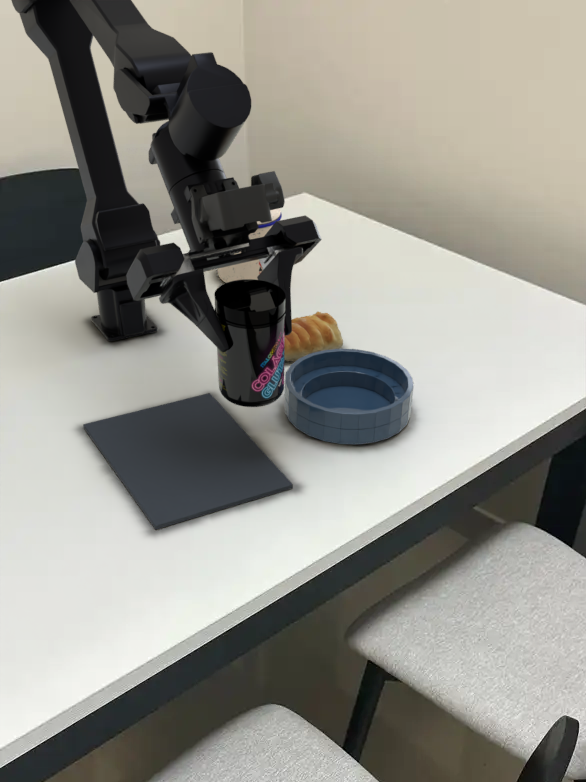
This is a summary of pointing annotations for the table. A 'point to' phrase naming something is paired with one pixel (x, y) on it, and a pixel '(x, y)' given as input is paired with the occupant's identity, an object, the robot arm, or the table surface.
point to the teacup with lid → (252, 267)
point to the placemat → (185, 459)
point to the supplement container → (251, 341)
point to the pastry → (312, 336)
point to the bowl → (348, 396)
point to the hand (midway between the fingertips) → (257, 342)
